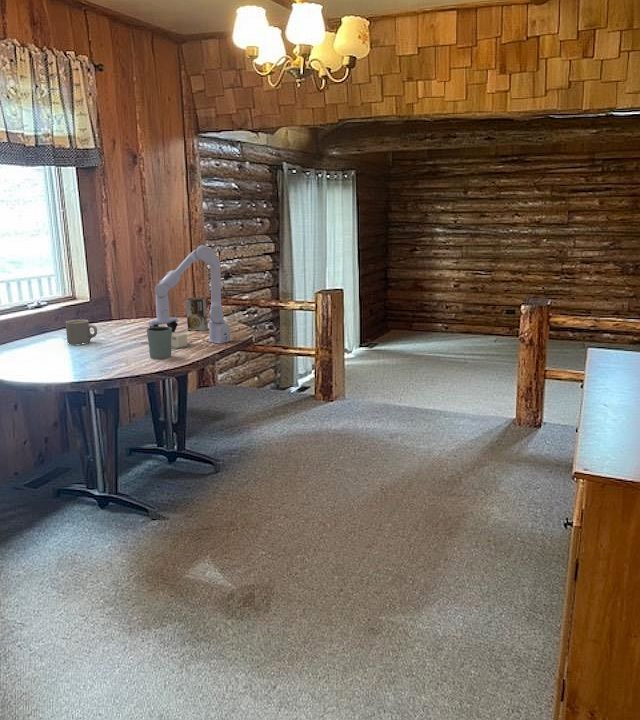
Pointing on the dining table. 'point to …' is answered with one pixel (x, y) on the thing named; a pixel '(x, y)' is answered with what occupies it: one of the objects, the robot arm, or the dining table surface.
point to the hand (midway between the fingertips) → (164, 339)
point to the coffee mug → (79, 331)
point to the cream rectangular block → (178, 339)
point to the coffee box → (196, 313)
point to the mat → (171, 346)
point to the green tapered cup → (159, 342)
